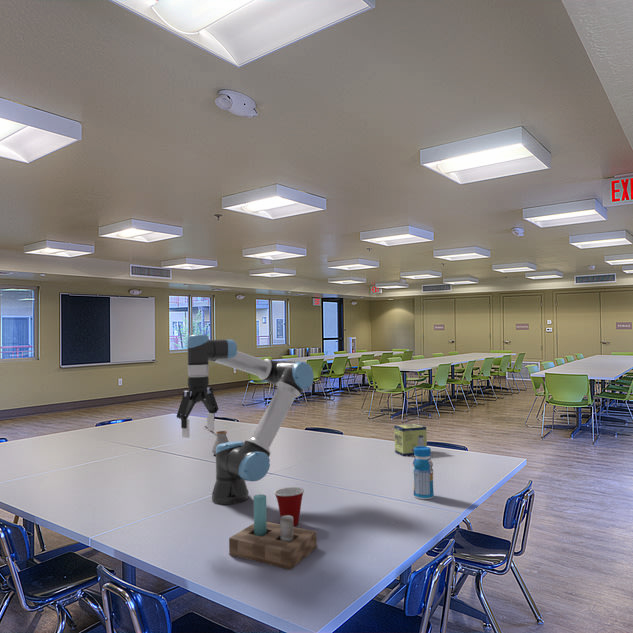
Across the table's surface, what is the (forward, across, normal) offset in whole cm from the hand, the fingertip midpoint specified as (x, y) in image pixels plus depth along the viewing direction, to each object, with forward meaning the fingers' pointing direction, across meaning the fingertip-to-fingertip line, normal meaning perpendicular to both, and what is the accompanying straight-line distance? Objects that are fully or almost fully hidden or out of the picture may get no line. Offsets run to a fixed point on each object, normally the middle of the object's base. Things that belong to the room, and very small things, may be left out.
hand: (198, 433), depth 175 cm
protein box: (+32, -131, +42) cm, 141 cm away
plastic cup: (+32, -11, +32) cm, 46 cm away
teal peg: (+31, +10, +33) cm, 46 cm away
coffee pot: (+32, -87, -63) cm, 112 cm away
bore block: (+32, +10, +38) cm, 51 cm away
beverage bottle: (+32, -60, +68) cm, 96 cm away
